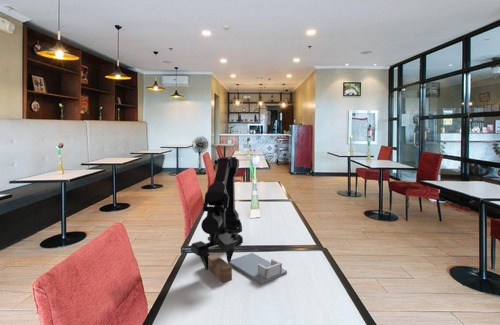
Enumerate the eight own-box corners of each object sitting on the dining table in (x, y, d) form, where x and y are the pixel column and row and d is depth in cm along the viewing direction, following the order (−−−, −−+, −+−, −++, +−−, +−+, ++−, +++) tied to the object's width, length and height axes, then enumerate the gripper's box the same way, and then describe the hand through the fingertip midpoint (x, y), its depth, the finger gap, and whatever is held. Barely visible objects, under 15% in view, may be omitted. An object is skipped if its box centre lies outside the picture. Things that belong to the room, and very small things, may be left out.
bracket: (228, 263, 120) (227, 252, 120) (252, 255, 128) (252, 244, 127) (261, 284, 105) (261, 271, 104) (287, 273, 112) (287, 261, 111)
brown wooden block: (205, 267, 118) (205, 254, 117) (213, 264, 120) (213, 252, 119) (223, 283, 106) (222, 269, 105) (232, 280, 108) (231, 266, 107)
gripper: (205, 236, 99) (206, 283, 101) (251, 224, 110) (252, 266, 112) (189, 227, 107) (190, 270, 109) (233, 217, 119) (234, 256, 121)
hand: (218, 265), depth 113 cm, fingers open, 9 cm apart
